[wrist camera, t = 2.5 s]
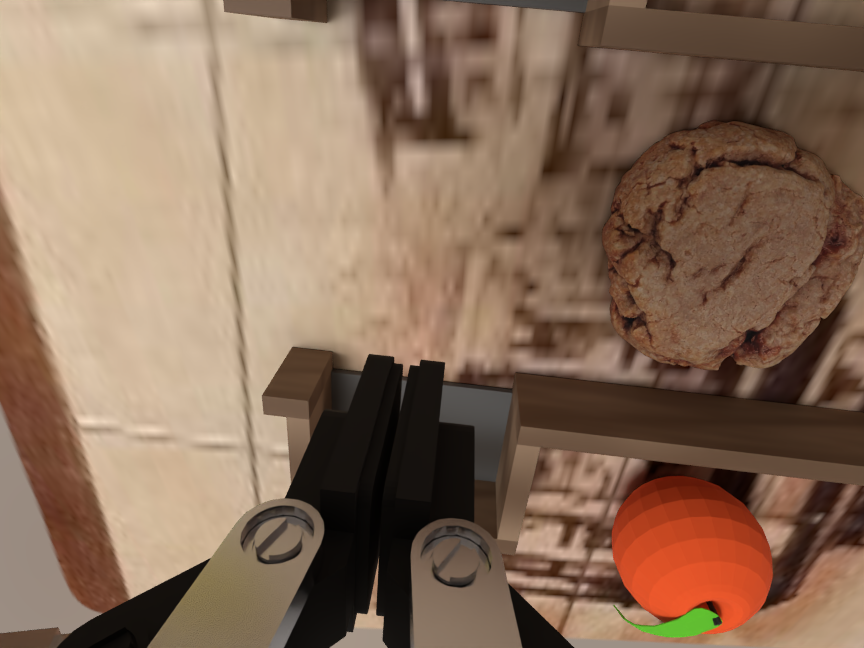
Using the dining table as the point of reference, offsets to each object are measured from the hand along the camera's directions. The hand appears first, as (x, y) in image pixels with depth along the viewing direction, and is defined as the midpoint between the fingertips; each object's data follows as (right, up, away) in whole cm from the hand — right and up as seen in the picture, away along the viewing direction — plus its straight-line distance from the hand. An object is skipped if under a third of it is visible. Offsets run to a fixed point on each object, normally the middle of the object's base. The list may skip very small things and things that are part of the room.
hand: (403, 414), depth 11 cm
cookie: (+12, +5, +10) cm, 17 cm away
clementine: (+13, -8, +17) cm, 23 cm away
